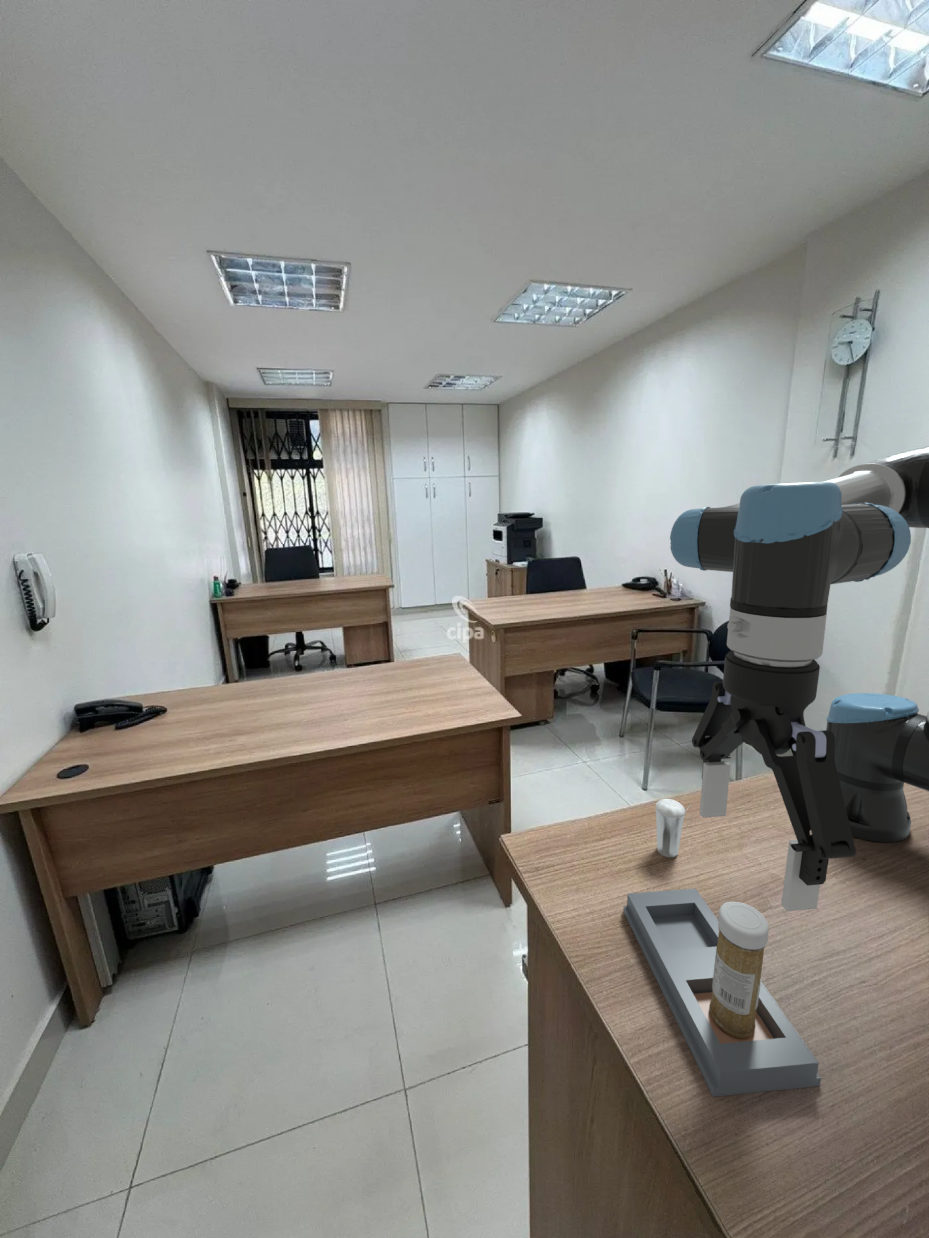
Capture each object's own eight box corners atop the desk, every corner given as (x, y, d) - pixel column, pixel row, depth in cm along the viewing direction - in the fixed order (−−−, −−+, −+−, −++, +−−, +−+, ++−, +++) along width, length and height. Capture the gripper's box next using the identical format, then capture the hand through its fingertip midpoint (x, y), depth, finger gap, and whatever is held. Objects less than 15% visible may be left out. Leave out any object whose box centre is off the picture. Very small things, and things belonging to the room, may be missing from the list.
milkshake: (684, 866, 79) (689, 810, 77) (650, 854, 82) (653, 800, 80) (689, 849, 83) (693, 796, 81) (655, 839, 86) (659, 787, 84)
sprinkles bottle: (763, 1024, 54) (778, 920, 51) (740, 1049, 51) (755, 942, 48) (722, 991, 57) (734, 893, 54) (699, 1013, 55) (710, 911, 52)
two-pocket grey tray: (697, 906, 71) (698, 888, 71) (819, 1085, 49) (823, 1062, 48) (623, 911, 71) (624, 893, 70) (712, 1096, 48) (715, 1072, 48)
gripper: (668, 626, 58) (658, 790, 62) (842, 709, 33) (806, 968, 38) (730, 623, 58) (715, 786, 63) (946, 703, 34) (898, 959, 38)
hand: (749, 855), depth 50 cm, fingers open, 13 cm apart
